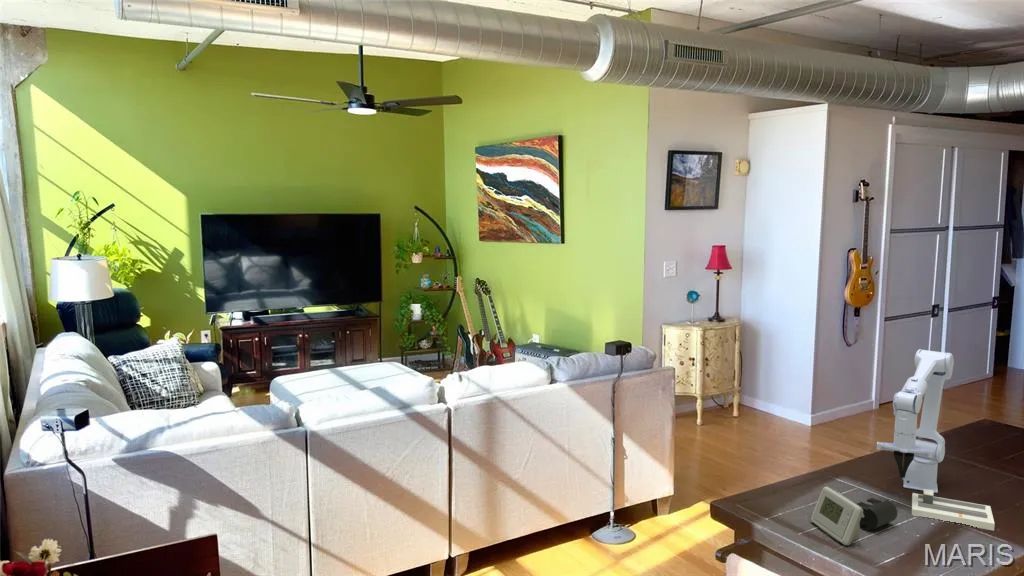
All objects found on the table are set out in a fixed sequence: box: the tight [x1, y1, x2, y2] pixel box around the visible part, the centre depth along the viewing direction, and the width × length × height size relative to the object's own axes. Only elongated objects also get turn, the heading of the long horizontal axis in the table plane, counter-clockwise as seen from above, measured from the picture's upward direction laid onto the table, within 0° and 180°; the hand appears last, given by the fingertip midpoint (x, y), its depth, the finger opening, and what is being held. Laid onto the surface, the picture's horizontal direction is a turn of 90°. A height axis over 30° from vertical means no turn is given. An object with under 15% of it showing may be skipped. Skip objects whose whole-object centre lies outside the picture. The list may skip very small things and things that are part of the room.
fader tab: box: [922, 489, 935, 505], centre depth 213 cm, size 2×4×3 cm, turn 151°
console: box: [911, 492, 996, 532], centre depth 210 cm, size 20×14×3 cm
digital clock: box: [810, 486, 864, 546], centre depth 197 cm, size 16×9×11 cm, turn 179°
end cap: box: [856, 497, 898, 531], centre depth 202 cm, size 10×7×7 cm
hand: (902, 476), depth 216 cm, fingers closed
